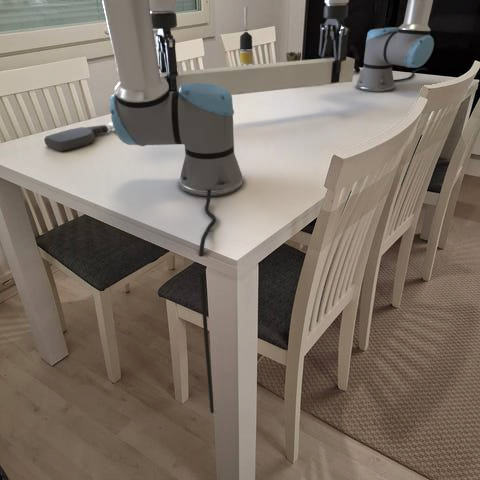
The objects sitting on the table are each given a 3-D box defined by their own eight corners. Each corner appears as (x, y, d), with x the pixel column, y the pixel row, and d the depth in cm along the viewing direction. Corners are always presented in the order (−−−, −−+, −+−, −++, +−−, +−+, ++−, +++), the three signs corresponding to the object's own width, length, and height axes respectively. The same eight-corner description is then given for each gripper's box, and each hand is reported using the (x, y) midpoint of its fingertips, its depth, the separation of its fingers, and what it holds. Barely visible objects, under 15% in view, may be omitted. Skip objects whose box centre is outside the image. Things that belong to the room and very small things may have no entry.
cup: (283, 70, 221) (283, 53, 217) (288, 68, 227) (289, 51, 222) (297, 72, 218) (298, 54, 214) (302, 69, 224) (303, 52, 219)
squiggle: (349, 83, 219) (328, 64, 222) (365, 68, 218) (343, 49, 221) (351, 72, 208) (328, 52, 210) (368, 57, 207) (344, 36, 210)
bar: (149, 104, 131) (146, 78, 127) (145, 99, 135) (142, 74, 131) (352, 81, 154) (355, 59, 150) (343, 78, 158) (346, 56, 154)
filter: (254, 81, 203) (254, 7, 187) (243, 82, 201) (242, 7, 185) (249, 78, 208) (249, 6, 192) (238, 79, 206) (237, 6, 190)
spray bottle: (43, 145, 135) (109, 126, 151) (63, 153, 129) (130, 132, 145) (40, 136, 134) (108, 117, 150) (60, 143, 128) (129, 123, 144)
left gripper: (184, 14, 117) (191, 103, 129) (167, 8, 131) (174, 89, 144) (156, 15, 115) (166, 106, 127) (142, 10, 129) (151, 92, 141)
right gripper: (363, 5, 135) (355, 84, 147) (330, 1, 149) (325, 74, 162) (342, 7, 132) (335, 87, 145) (311, 3, 147) (306, 76, 159)
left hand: (170, 97), depth 135 cm, fingers closed on bar, 5 cm apart
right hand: (330, 80), depth 153 cm, fingers closed on bar, 5 cm apart
